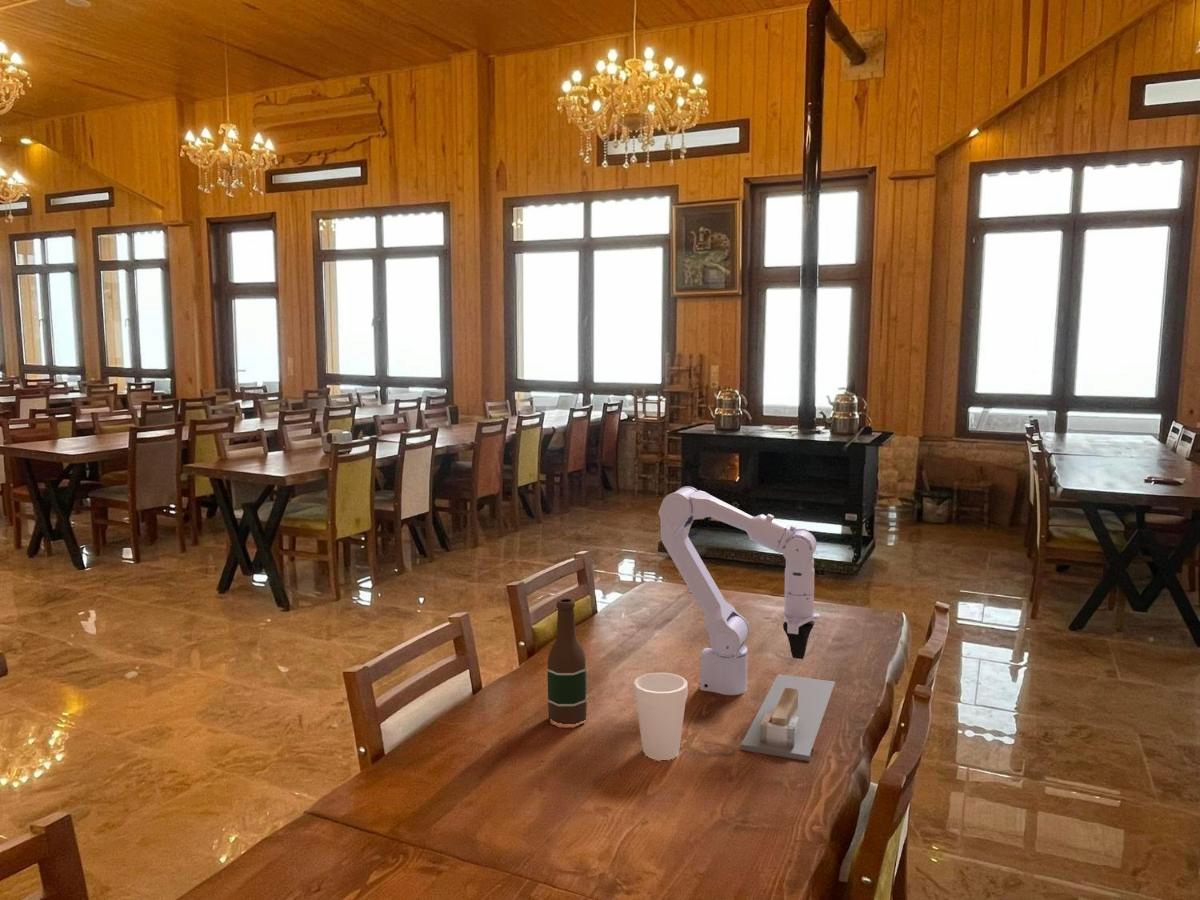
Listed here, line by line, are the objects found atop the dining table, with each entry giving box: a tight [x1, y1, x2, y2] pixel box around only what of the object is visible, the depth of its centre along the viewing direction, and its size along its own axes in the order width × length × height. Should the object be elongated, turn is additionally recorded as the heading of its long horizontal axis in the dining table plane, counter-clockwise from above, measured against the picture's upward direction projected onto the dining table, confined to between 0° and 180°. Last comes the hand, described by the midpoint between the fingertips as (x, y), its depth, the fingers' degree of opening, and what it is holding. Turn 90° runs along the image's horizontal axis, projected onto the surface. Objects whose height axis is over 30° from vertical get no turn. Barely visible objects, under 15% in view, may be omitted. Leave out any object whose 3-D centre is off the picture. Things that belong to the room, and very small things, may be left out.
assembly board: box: [740, 673, 836, 762], centre depth 166 cm, size 12×35×1 cm, turn 158°
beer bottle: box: [546, 598, 588, 724], centre depth 164 cm, size 8×8×24 cm
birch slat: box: [772, 688, 798, 726], centre depth 159 cm, size 2×14×4 cm, turn 158°
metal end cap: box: [760, 712, 799, 748], centre depth 154 cm, size 6×6×4 cm
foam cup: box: [633, 671, 689, 761], centre depth 151 cm, size 10×9×13 cm
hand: (798, 657), depth 171 cm, fingers closed
